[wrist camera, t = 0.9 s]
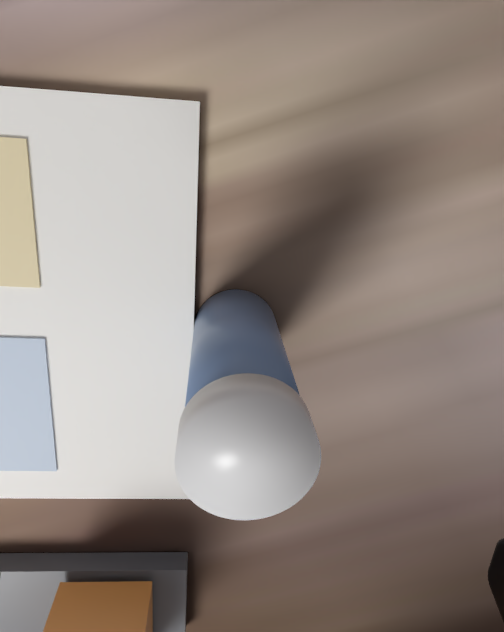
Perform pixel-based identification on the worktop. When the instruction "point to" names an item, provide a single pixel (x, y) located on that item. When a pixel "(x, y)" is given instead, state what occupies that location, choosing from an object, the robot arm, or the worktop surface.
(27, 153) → the sheet
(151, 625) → the orange cube
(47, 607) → the switch base
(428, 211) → the worktop surface
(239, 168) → the worktop surface
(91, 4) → the worktop surface
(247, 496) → the marker
